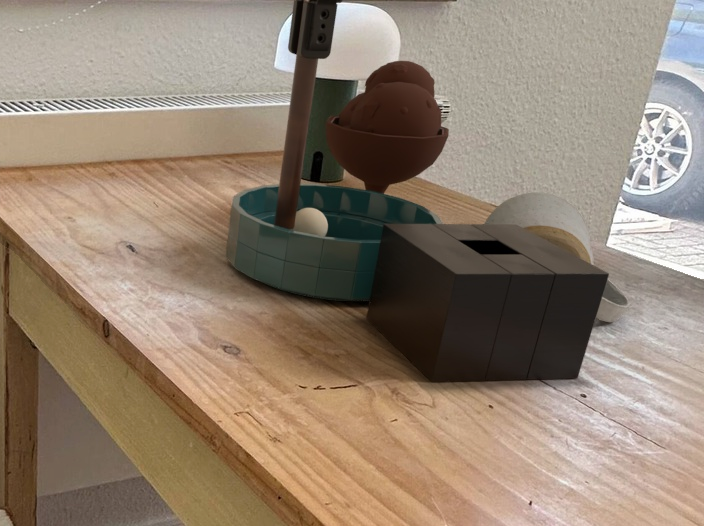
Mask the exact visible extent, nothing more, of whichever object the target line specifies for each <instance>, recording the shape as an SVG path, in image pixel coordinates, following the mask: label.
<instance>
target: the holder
mask: <svg viewBox="0 0 704 526" xmlns="http://www.w3.org/2000/svg"><path fill="white" fill-rule="evenodd" d="M609 276H610V273H609V272H608V271H605V270H603V269H601V268H599V267H598V266H597V265H594V264H593V265H592V264H590V263H588V262H586V261H584V260H582V259H581V258H579V257H577V256H575V255H573V254H571V253H569V252H567V251H566V250H564V249H562V248H560V247H558V246H556V245H554V244H552V243H550V242H549V241H547V240H545V239H543V238H541V237H539V236H537V235H535V234H533V233H532V232H530V231H528V230H526V229H524V228H522V227H520V226H518V225H516V224H484V223H471V224H470V223H443V224H384V225H383V230H382V236H381V241H380V247H379V252H378V257H377V263H376V268H375V273H374V279H373V284H372V290H371V295H370V300H369V301H368V305H367V307H368V308H367V311H366V316H365V317H366V318H365V320H367V321H368V322H369V323H370V324H371V325H372V326H373V327H374V328H375V329H376V330H377V331H378V332H379V333H380V334H381V335H382V336H383V337H384V338H386V339H387V340H388V341H389V342H390V343H391V344H392V345H393V346H394V347H395V348H396V349H397V350H398V351H399V352H400V353H401V354H402V355H403V356H404V357H405V358H406V359H408V361H410V363H412V364H413V366H415V367H416V368H417V369H418V370H419V371H420V372H421V373H422V374H423V375H424V376H425V377H426V378H427V379H428V380H429V381H430V382H431V383H439V382H440V383H442V382H443V383H444V382H445V383H446V382H484V381H514V380H515V381H517V380H518V381H521V380H560V379H564V380H565V379H578V378H579V375H580V373H581V369H582V365H583V362H584V359H585V356H586V352H587V348H588V345H589V342H590V339H591V336H592V332H593V329H594V325H595V323H596V319H597V318H596V316H597V312H598V309H599V306H600V303H601V299H602V296H603V293H604V289H605V286H606V283H607V280H608V279H609Z"/></svg>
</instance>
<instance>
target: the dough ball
mask: <svg viewBox="0 0 704 526" xmlns="http://www.w3.org/2000/svg"><path fill="white" fill-rule="evenodd" d="M289 230H292V231H298V232H303V233H308V234H314V235H319V236H324V237H325V235H326V233H327V230H328V223H327V219H326V217H325V216H324V214H323V213H322V212H320V211H319V210H317V209H314V208H304V209H301V210H299V211H298V212H296V219H295V226H294V228H293V229H289Z"/></svg>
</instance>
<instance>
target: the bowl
mask: <svg viewBox="0 0 704 526" xmlns="http://www.w3.org/2000/svg"><path fill="white" fill-rule="evenodd" d="M278 190H279V183H278V184H277V183H276V184H266V185H259V186H254V187H251V188H246V189H243V190H241V191H239V192H238V193H236V194H235V195H233V196H232V199H231V205H230V206H231V207H230V216H229V223H228V232H227V233H228V234H227V240H226V241H227V242H226V252H225V258H226V260H228V261H229V263H230V264H231V265H232V266H233V268H234V269H236V270H237V271H239V272H240V273H243V274H244V275H246V276H247V277H250V278H251V279H252V280H256V281H258V282H260V283H262V284H264V285H266V286H269V287H272V288H274V289H277V290H280V291H283V292H287V293H290V294H294V295H298V296H303V297H308V298H313V299H319V300H326V301H327V300H328V301H339V302H369V300H370V295H371V290H372V284H373V279H374V273H375V268H376V263H377V257H378V252H379V247H380V241H381V236H382V230H383V225H384V224H444V222H443V220H442V219H441V217H440V216H439V215H438V214H436V213H435V212H433V211H431V209H428V208H426V207H425V206H423V205H421V204H418V203H415V202H413V201H411V200H407V199H404V198H402V197H398V196H395V195H390V194H387V193H386V194H385V193H384V194H382V193H378V192H373V191H369V190H366V189H362V188H356V187H351V186H350V187H349V186H344V185H343V186H342V185H332V184H321V183H301V184H300V191H299V198H298V205H297V212H298V211H299V210H301V209H304V208H314V209H317V210H319V211H320V212H322V213H323V214H324V216H325V217H326V219H327V223H328V230H327V233H326V235H325V237H324V236H319V235H314V234H308V233H303V232H298V231H292V230H289V229H286V228H282V227H279V226H276V225H274V220H275V213H276V205H277V198H278Z"/></svg>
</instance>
